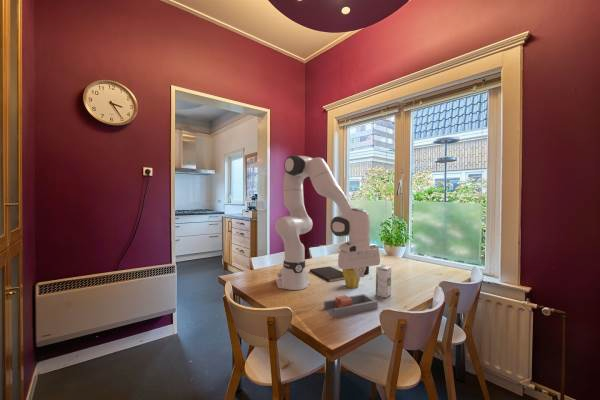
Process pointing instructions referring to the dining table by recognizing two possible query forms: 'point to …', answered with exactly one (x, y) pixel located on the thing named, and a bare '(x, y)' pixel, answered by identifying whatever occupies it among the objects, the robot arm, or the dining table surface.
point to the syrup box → (383, 281)
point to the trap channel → (351, 306)
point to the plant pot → (351, 278)
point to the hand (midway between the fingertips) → (359, 277)
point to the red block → (343, 301)
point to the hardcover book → (328, 273)
